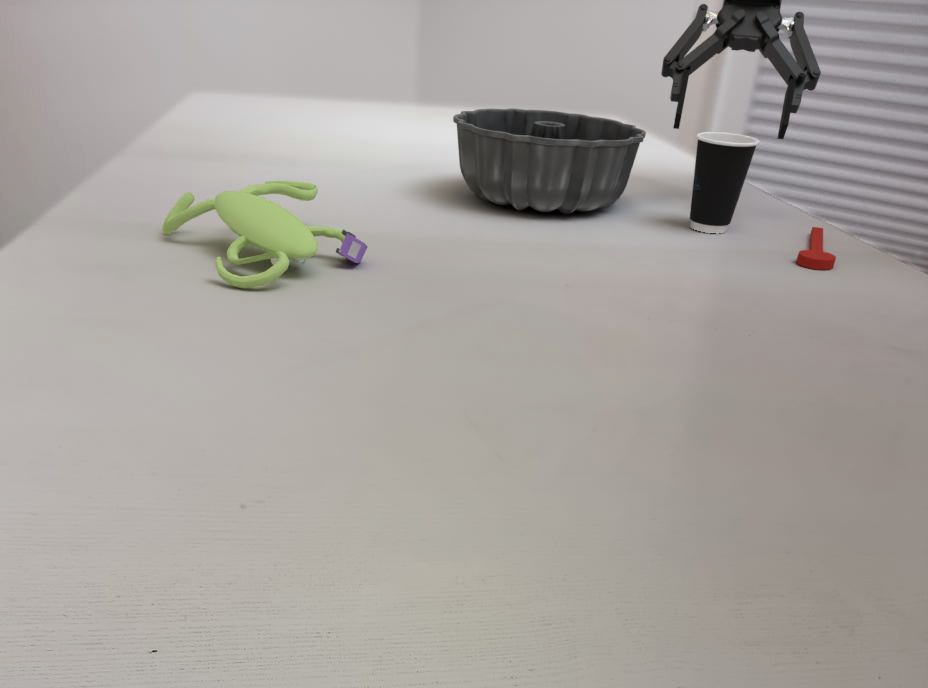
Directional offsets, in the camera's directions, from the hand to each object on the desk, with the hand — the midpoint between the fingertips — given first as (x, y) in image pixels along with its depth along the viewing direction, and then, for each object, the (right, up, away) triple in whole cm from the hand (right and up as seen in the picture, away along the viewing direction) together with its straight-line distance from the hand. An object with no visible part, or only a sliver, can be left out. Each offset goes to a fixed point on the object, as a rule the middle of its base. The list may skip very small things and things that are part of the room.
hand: (729, 127), depth 120 cm
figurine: (-58, -23, -16) cm, 64 cm away
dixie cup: (-2, -12, +3) cm, 13 cm away
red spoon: (+10, -17, -3) cm, 20 cm away
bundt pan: (-24, -5, +11) cm, 27 cm away
